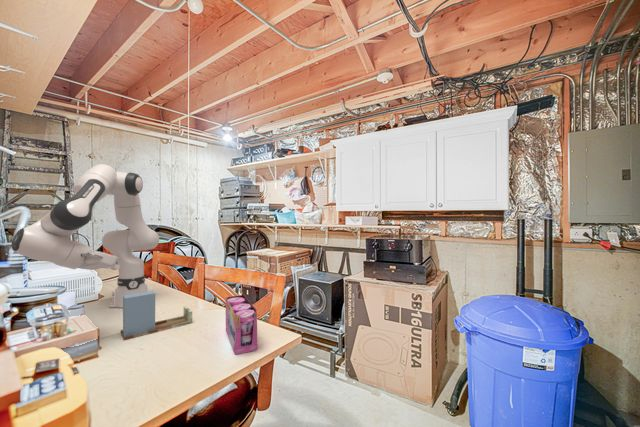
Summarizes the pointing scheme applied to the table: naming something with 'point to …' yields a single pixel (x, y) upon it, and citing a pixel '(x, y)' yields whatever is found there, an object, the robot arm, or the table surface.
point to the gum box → (241, 324)
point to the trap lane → (167, 324)
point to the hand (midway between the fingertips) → (117, 267)
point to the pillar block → (138, 313)
